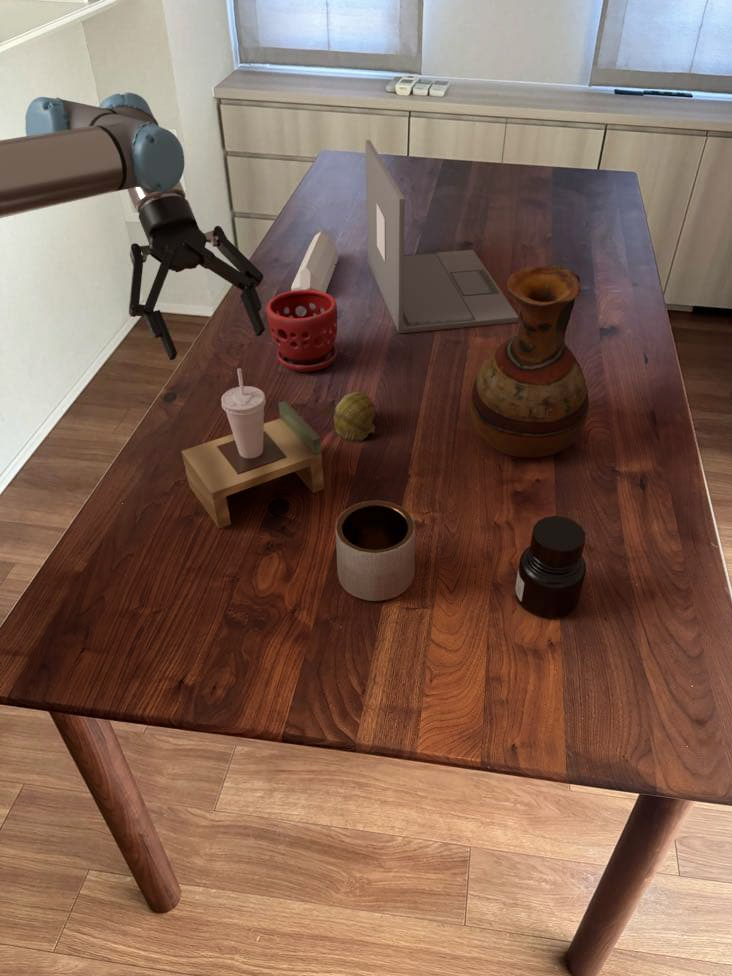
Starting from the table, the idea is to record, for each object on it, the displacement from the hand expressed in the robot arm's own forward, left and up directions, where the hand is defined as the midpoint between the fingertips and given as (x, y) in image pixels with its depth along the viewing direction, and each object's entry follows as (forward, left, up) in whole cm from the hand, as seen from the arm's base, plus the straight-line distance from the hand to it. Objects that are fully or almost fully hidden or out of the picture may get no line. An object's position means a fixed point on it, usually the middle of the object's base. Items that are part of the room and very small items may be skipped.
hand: (218, 344), depth 116 cm
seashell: (+22, -1, -22) cm, 31 cm away
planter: (+6, -34, -22) cm, 41 cm away
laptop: (+64, +35, -22) cm, 76 cm away
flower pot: (+25, +24, -22) cm, 41 cm away
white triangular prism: (+44, +55, -22) cm, 74 cm away
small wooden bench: (0, -7, -22) cm, 23 cm away
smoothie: (0, -7, -15) cm, 17 cm away
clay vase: (+46, -18, -22) cm, 54 cm away
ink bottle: (+24, -50, -22) cm, 60 cm away
